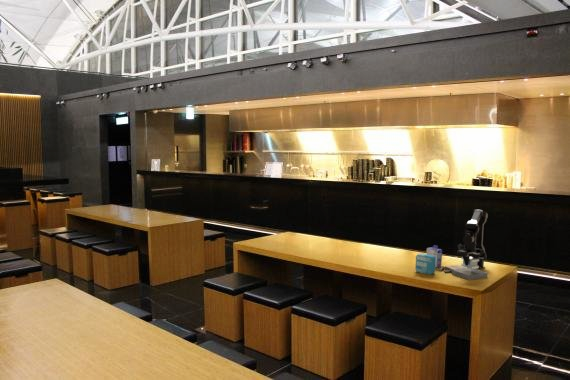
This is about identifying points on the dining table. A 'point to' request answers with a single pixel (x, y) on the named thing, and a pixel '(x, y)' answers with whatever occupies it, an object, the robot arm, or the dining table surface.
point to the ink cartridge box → (436, 253)
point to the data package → (425, 263)
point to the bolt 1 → (442, 268)
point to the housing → (471, 263)
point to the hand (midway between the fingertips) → (470, 265)
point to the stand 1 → (453, 267)
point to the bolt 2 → (448, 271)
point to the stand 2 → (469, 273)
